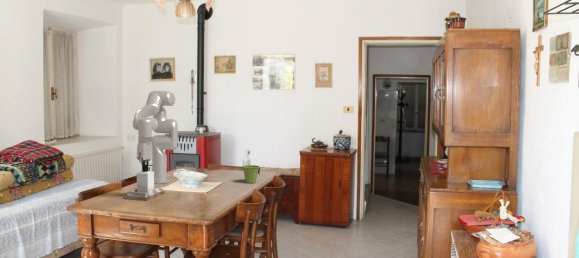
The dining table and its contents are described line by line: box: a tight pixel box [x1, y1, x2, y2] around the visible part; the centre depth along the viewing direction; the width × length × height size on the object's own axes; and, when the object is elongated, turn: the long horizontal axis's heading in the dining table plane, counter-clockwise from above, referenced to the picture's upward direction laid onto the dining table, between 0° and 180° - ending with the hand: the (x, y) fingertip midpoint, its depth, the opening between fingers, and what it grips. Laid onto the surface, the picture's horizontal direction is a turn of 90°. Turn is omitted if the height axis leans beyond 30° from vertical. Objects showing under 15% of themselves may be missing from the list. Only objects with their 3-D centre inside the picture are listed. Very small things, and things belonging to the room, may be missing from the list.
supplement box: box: [136, 170, 155, 193], centre depth 274 cm, size 7×7×13 cm
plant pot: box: [242, 164, 261, 184], centre depth 320 cm, size 12×12×11 cm
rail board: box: [124, 186, 166, 202], centre depth 274 cm, size 20×14×4 cm
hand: (145, 171), depth 273 cm, fingers closed
